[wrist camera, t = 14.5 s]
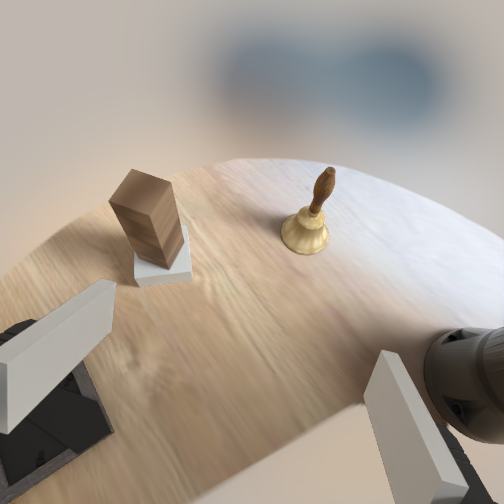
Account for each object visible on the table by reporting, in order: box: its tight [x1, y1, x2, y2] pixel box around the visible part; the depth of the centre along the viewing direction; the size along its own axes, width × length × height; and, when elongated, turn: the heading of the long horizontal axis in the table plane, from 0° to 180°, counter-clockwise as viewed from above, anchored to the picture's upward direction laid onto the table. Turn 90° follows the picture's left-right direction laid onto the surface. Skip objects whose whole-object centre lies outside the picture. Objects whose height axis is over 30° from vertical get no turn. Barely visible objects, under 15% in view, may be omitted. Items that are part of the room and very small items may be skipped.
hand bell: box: [281, 167, 335, 255], centre depth 51 cm, size 8×8×16 cm
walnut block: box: [109, 169, 185, 270], centre depth 44 cm, size 5×5×14 cm
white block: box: [134, 225, 193, 288], centre depth 52 cm, size 8×8×4 cm
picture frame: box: [0, 360, 114, 504], centre depth 43 cm, size 13×2×18 cm
